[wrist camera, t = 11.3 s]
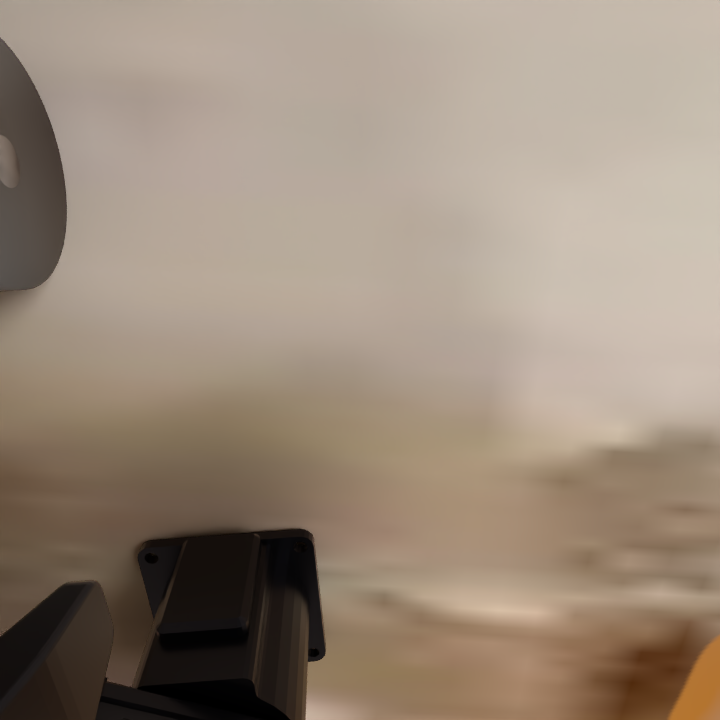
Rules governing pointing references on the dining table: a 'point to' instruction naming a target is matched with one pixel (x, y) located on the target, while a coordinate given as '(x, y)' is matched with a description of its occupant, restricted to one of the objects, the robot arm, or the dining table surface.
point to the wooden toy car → (27, 182)
